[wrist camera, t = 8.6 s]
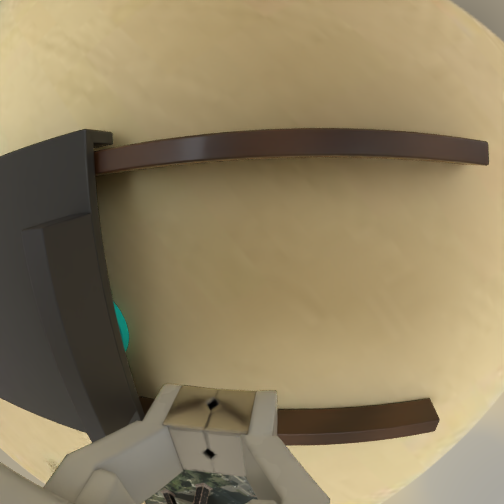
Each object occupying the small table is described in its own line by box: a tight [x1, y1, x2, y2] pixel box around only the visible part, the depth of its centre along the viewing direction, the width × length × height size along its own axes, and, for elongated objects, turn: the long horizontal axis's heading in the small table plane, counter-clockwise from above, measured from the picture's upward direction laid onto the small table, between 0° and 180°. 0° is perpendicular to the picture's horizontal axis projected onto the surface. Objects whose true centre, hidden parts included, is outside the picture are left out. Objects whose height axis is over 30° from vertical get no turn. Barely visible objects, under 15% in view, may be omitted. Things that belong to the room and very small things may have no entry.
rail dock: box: [94, 128, 489, 445], centre depth 14 cm, size 35×15×2 cm, turn 93°
